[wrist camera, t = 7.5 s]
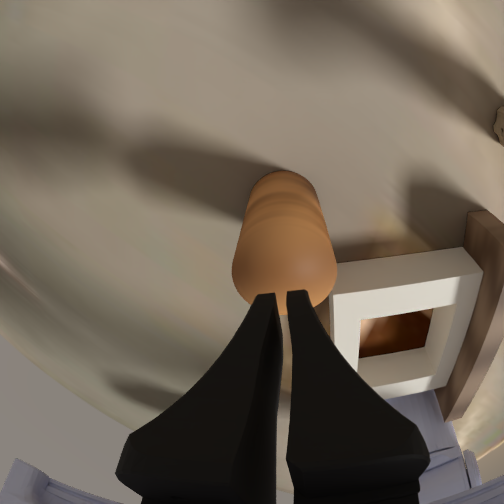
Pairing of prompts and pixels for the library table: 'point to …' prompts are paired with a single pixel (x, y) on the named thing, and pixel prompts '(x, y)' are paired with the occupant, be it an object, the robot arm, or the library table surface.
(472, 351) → the wall
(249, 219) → the dowel
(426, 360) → the socket block
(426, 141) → the library table surface
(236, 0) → the library table surface
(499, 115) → the handle
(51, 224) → the library table surface
